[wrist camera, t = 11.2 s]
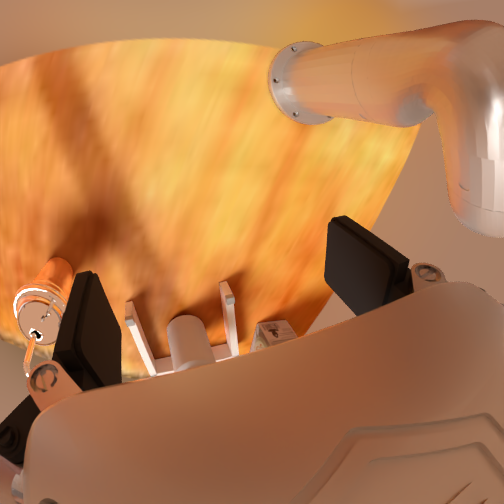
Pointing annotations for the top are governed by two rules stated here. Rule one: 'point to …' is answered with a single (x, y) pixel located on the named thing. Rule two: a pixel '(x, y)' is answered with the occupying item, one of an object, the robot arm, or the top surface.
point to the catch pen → (165, 364)
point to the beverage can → (188, 343)
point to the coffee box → (272, 334)
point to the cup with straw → (43, 305)
